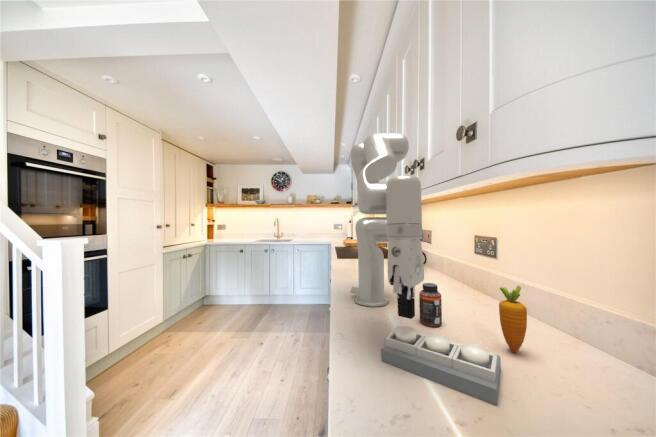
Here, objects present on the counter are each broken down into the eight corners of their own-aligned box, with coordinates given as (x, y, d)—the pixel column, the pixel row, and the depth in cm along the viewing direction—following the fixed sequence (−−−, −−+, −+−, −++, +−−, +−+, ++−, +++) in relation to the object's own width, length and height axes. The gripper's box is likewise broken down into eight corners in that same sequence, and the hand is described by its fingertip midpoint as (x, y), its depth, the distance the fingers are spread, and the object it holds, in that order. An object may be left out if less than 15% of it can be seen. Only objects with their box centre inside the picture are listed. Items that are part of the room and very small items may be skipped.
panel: (381, 360, 50) (381, 340, 50) (402, 338, 59) (402, 322, 59) (497, 405, 37) (496, 378, 37) (500, 368, 47) (500, 347, 47)
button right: (459, 361, 43) (459, 350, 43) (463, 350, 47) (463, 340, 47) (488, 370, 40) (487, 358, 40) (490, 358, 44) (489, 347, 44)
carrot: (498, 352, 52) (496, 285, 53) (502, 344, 56) (500, 281, 56) (527, 361, 49) (524, 289, 49) (529, 352, 53) (527, 285, 53)
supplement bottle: (444, 328, 65) (443, 287, 65) (421, 327, 66) (421, 286, 66) (438, 320, 71) (438, 282, 71) (418, 318, 72) (417, 281, 72)
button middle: (422, 349, 47) (422, 339, 47) (429, 341, 51) (429, 331, 51) (446, 357, 45) (446, 346, 45) (451, 347, 48) (451, 337, 48)
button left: (392, 339, 51) (392, 330, 51) (400, 332, 55) (399, 323, 55) (412, 346, 49) (412, 336, 49) (419, 338, 52) (419, 329, 52)
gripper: (409, 233, 44) (411, 333, 43) (431, 231, 56) (433, 310, 55) (373, 233, 49) (374, 323, 48) (400, 232, 60) (402, 304, 59)
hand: (406, 316), depth 51 cm, fingers closed
